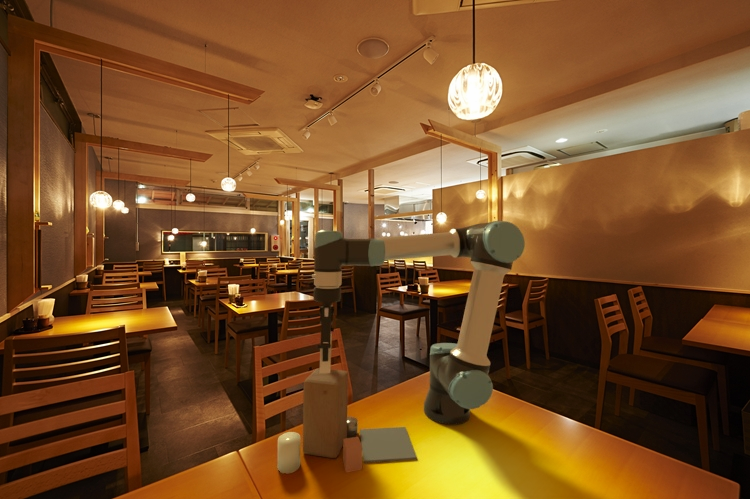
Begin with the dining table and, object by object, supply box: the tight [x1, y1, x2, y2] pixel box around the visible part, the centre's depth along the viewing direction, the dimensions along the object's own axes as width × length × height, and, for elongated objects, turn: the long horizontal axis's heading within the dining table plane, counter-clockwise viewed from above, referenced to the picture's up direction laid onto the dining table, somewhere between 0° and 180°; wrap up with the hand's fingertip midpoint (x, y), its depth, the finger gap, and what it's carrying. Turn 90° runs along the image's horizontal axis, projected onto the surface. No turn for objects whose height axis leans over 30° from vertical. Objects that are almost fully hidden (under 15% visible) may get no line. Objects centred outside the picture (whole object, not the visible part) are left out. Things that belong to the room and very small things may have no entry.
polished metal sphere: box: [347, 416, 358, 438], centre depth 95 cm, size 4×4×4 cm
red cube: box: [342, 436, 363, 473], centre depth 81 cm, size 4×4×6 cm
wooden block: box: [302, 367, 349, 459], centre depth 89 cm, size 10×10×20 cm
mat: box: [359, 426, 418, 464], centre depth 90 cm, size 14×14×1 cm
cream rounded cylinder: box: [276, 431, 301, 475], centre depth 81 cm, size 6×6×7 cm
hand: (325, 362), depth 89 cm, fingers open, 13 cm apart
